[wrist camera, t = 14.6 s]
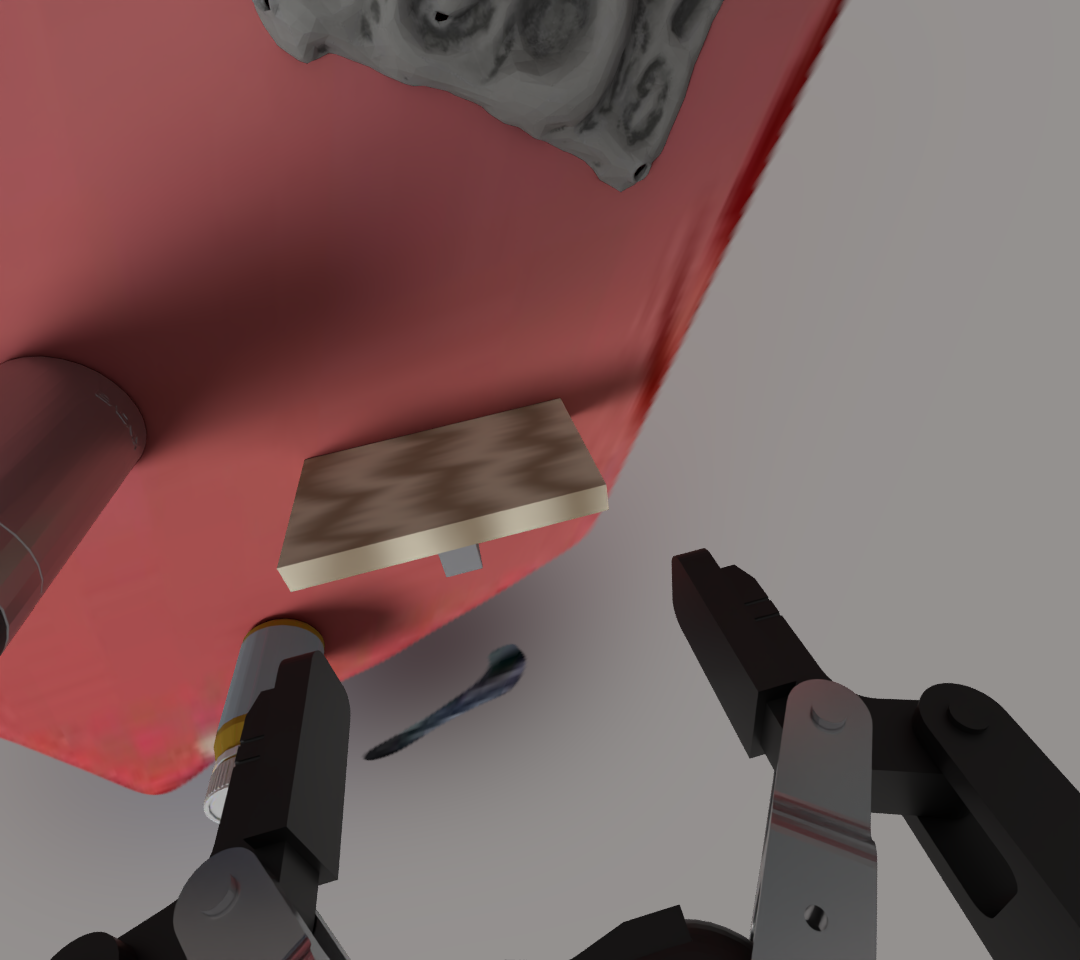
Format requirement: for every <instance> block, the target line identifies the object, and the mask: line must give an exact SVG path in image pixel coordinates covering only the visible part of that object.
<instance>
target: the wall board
mask: <svg viewBox="0 0 1080 960" xmlns="http://www.w3.org/2000/svg"><path fill="white" fill-rule="evenodd" d="M606 510H609V507H608V497H607V488H606V483H605V482H604V480H603V478H602V476H601V474H600V472H599V470H598V468H597V466H596V465H595V463H594V461H593V459H592V457H591V455H590V453H589V451H588V449H587V448H586V446H585V444H584V442H583V440H582V438H581V436H580V434H579V432H578V431H577V429H576V427H575V425H574V423H573V421H572V419H571V417H570V415H569V414H568V412H567V410H566V408H565V406H564V404H563V402H562V400H561V398H559V399H555V400H551V401H547V402H542V403H538V404H534V405H530V406H526V407H522V408H518V409H513V410H509V411H505V412H501V413H497V414H493V415H489V416H484V417H480V418H476V419H472V420H468V421H464V422H460V423H455V424H451V425H447V426H443V427H439V428H435V429H431V430H426V431H422V432H418V433H414V434H410V435H406V436H402V437H397V438H393V439H389V440H385V441H381V442H377V443H373V444H368V445H364V446H360V447H356V448H352V449H348V450H344V451H339V452H335V453H331V454H327V455H323V456H319V457H315V458H310V459H306V460H304V464H303V468H302V472H301V476H300V480H299V484H298V488H297V492H296V496H295V500H294V504H293V508H292V511H291V515H290V519H289V523H288V527H287V531H286V535H285V539H284V543H283V547H282V551H281V555H280V559H279V563H278V566H277V569H278V571H279V573H280V574H281V576H282V578H283V579H284V581H285V582H286V584H287V586H288V587H289V589H290V591H291V592H292V591H296V590H300V589H304V588H308V587H312V586H316V585H319V584H323V583H327V582H331V581H335V580H339V579H343V578H347V577H350V576H354V575H358V574H362V573H366V572H370V571H374V570H377V569H381V568H385V567H389V566H393V565H397V564H401V563H404V562H408V561H412V560H416V559H420V558H424V557H428V556H432V555H435V554H439V553H443V552H447V551H451V550H455V549H459V548H462V547H466V546H470V545H474V544H478V543H482V542H486V541H490V540H493V539H497V538H501V537H505V536H509V535H513V534H517V533H520V532H524V531H528V530H532V529H536V528H540V527H544V526H548V525H551V524H555V523H559V522H563V521H567V520H571V519H575V518H578V517H582V516H586V515H590V514H594V513H598V512H602V511H606Z"/></svg>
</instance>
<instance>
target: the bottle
mask: <svg viewBox="0 0 1080 960" xmlns="http://www.w3.org/2000/svg"><path fill="white" fill-rule="evenodd" d="M324 648H325V644H324V640H323V637H322V636H321V635H320V633H319V632H318V631H317V630H316V629H314V628H313V627H312V626H310V625H309V624H307V623H305V622H302V621H299V620H295V619H275V620H271V621H268V622H265V623H263V624H261V625H258V626H257V627H255V628H254V629H252V630H250V631H249V632H248V634H247V635H246V636H245V638H244V640H243V643H242V645H241V649H240V653H239V656H238V660H237V663H236V667H235V670H234V674H233V677H232V681H231V684H230V688H229V691H228V695H227V699H226V702H225V706H224V709H223V713H222V716H221V720H220V723H219V727H218V730H217V734H216V739H215V744H214V752H215V760H216V763H215V765H214V769H213V774H212V775H211V779H210V782H209V786H208V790H207V794H206V797H205V801H204V811H205V814H206V816H207V817H208V818H209V819H211V820H212V821H214V822H216V823H218V824H220V820H221V816H222V811H223V807H224V803H225V799H226V795H227V791H228V787H229V783H230V779H231V775H232V771H233V767H235V758H236V754H237V750H238V746H240V738H241V734H242V730H243V726H244V721H245V717H246V715H247V713H248V712H249V710H250V709H251V707H252V705H253V704H254V702H255V700H256V699H257V697H258V696H259V694H260V692H261V691H265V690H268V689H272V688H274V686H275V682H276V677H277V672H278V668H279V665H280V663H281V661H282V660H283V659H287V658H290V657H294V656H298V655H302V654H305V653H309V652H313V651H317V650H319V651H321V652H322V653H323V655H324Z"/></svg>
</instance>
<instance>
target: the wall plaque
mask: <svg viewBox="0 0 1080 960" xmlns="http://www.w3.org/2000/svg"><path fill="white" fill-rule="evenodd" d="M252 1H253V2H254V5H255V8H256V11H257V13H258V15H259V17H260V19H261V21H262V23H263V25H264V27H265V28H266V30H267V31H268V32H269V34H270V35H271V37H272V38H273V39H274V41H275V42H276V44H277V45H278V46H279V47H281V48H282V49H283V50H285V51H286V52H287V53H289V54H290V55H292V56H293V57H295V58H296V59H297V60H299V61H301V62H304V63H309V62H311V61H313V60H316V59H318V58H320V57H322V56H324V55H326V54H327V53H332V54H337V55H340V56H342V57H345V58H348V59H350V60H353V61H355V62H358V63H361V64H363V65H366V66H369V67H371V68H373V69H375V70H376V71H378V72H380V73H382V74H383V75H385V76H388V77H390V78H393V79H395V80H398V81H400V82H402V83H404V84H408V85H412V86H428V87H432V88H436V89H441V90H445V91H448V92H450V93H452V94H454V95H456V96H458V97H461V98H464V99H466V100H469V101H472V102H474V103H476V104H478V105H480V106H482V107H483V108H484V109H485V110H486V111H487V112H488V113H489V114H491V115H492V116H493V117H495V118H497V119H498V120H500V121H502V122H503V123H505V124H508V125H512V126H516V127H519V128H521V129H522V130H524V131H525V132H526V133H528V134H529V135H531V136H532V137H534V138H536V139H539V140H542V141H546V142H548V143H549V144H551V145H553V146H555V147H557V148H559V149H561V150H563V151H565V152H568V153H571V154H573V155H575V156H577V157H578V158H580V159H582V160H584V161H585V162H586V163H587V164H588V165H589V166H590V167H591V168H592V169H593V170H594V172H595V173H596V175H597V176H598V178H599V179H600V180H601V181H603V182H605V183H607V184H608V185H610V186H612V187H614V188H615V189H617V190H618V191H620V192H622V191H623V190H625V189H627V188H629V187H631V186H633V185H634V184H635V183H637V182H638V181H641V180H643V179H644V178H645V177H646V176H647V174H648V173H649V170H650V168H651V163H652V162H653V161H654V160H655V159H656V158H657V157H658V156H659V155H660V154H661V152H662V150H663V148H664V146H665V144H666V141H667V138H668V135H669V133H670V130H671V128H672V126H673V124H674V121H675V119H676V117H677V114H678V112H679V110H680V107H681V105H682V103H683V101H684V98H685V95H686V91H687V88H688V84H689V81H690V77H691V74H692V71H693V68H694V65H695V62H696V60H697V58H698V56H699V53H700V51H701V48H702V46H703V44H704V41H705V39H706V36H707V34H708V32H709V29H710V27H711V24H712V21H713V19H714V18H715V16H716V14H717V13H718V11H719V9H720V7H721V5H722V3H723V0H268V1H269V6H270V9H269V8H268V6H267V4H266V3H265V0H252ZM437 12H439V13H442V14H445V15H449V17H448V18H447V20H444V21H440V22H438V21H437V20H436V19H435V17H436V13H437ZM641 165H643V167H642V168H641V169H640V171H639V172H638V173H637V175H636V176H635V177H634V173H635V172H636V171H637V169H638V168H639V167H640V166H641Z"/></svg>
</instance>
